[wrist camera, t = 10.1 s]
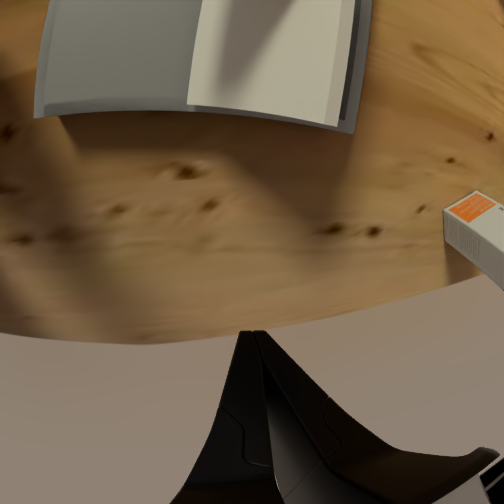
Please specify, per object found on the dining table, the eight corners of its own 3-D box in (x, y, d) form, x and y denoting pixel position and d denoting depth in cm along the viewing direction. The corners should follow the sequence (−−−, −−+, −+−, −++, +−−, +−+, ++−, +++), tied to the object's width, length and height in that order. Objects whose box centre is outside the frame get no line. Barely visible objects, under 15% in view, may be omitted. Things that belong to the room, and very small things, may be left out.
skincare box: (475, 188, 24) (556, 238, 14) (475, 219, 27) (547, 273, 16) (440, 208, 25) (526, 270, 15) (442, 241, 27) (516, 306, 17)
